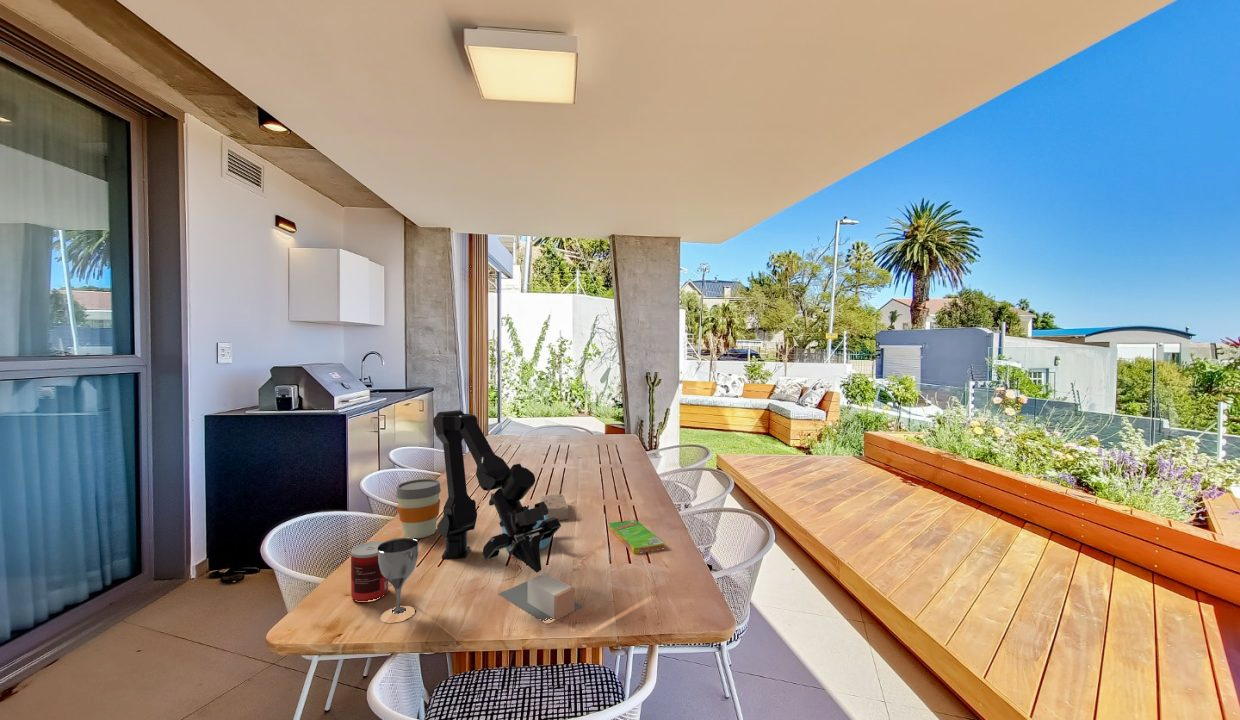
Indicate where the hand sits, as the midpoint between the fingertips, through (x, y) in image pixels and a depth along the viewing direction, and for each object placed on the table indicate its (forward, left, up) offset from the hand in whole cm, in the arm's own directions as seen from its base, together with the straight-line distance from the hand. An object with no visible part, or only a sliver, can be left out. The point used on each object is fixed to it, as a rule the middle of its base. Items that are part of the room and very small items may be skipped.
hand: (539, 571), depth 110 cm
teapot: (-32, -5, -7) cm, 33 cm away
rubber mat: (0, 0, -7) cm, 7 cm away
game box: (-34, +27, -8) cm, 44 cm away
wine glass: (+2, -30, -7) cm, 31 cm away
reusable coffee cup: (-44, -38, -7) cm, 58 cm away
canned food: (-7, -39, -7) cm, 40 cm away
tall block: (-1, -1, -4) cm, 4 cm away
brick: (-59, +3, -8) cm, 60 cm away
